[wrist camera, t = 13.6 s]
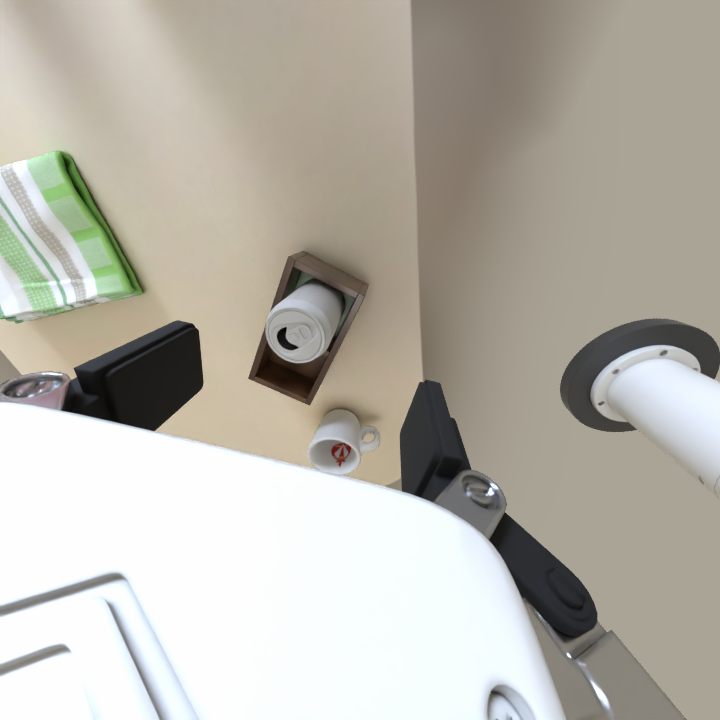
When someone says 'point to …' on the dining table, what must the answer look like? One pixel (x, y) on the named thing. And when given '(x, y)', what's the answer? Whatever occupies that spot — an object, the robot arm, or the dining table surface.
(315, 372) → the wooden compartment box
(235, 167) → the dining table surface
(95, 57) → the dining table surface
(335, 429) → the cup
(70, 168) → the dish towel
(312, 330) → the beverage can
